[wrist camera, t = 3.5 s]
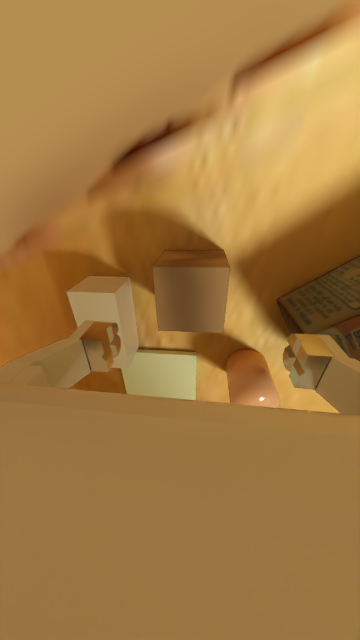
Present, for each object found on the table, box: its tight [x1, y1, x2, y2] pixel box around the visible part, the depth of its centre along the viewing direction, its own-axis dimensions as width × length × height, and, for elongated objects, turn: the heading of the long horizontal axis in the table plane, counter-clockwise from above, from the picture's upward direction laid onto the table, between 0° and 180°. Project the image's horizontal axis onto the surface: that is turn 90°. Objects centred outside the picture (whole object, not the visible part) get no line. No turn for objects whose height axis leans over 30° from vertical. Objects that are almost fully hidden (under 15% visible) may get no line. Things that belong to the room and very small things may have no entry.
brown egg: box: [226, 349, 280, 408], centre depth 21 cm, size 4×4×5 cm
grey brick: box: [66, 276, 139, 369], centre depth 20 cm, size 8×4×4 cm, turn 0°
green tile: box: [121, 349, 197, 400], centre depth 26 cm, size 9×9×1 cm
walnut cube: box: [152, 250, 230, 333], centre depth 17 cm, size 5×5×5 cm
